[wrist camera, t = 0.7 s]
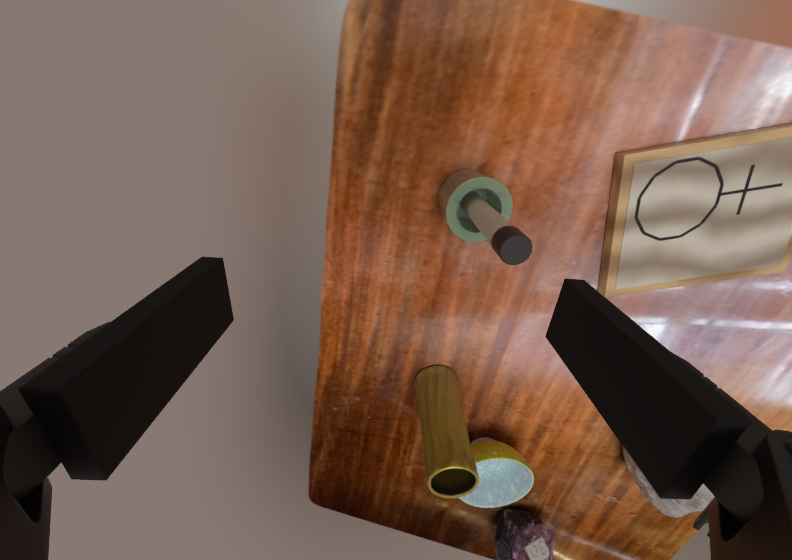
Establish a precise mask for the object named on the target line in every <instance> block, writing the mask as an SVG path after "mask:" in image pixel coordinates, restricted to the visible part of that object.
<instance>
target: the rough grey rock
mask: <svg viewBox="0 0 792 560" xmlns="http://www.w3.org/2000/svg"><path fill="white" fill-rule="evenodd" d="M623 456H624V457H625V462H626V466H627V469H628V471H629V472H630V473H632V475H633V476H634V478H635V481H636V483H637V485H638V486H639V487H640V490H641V492H642V494H643V495H644V497H645V498H646V499H647V500H649V501H650V502H651V503H652V504H653V505H654V506H656V507H657V508H658V509H659V510H660V511H661V512H662V513H663V514H664V515H667V516H670V517H676V518H677V517H681V516H683V515H686V514H689V513H692V512H695V511H701V510H704V509H705V508H706V507H707V505H708V504H709V503H710V502H711V501H712V499H713V498H714V497H715V496H714V495H713V494H712V493H711V492H710V491H709V489H708V488H707V487H706V486H705V485H704V484H702V486H701V487H700V488H699V489H698V491H697V492H696V493H695V495H694V496H693V497H692V498H691V500H687V499H660V497H659V496H658V494H657V493H656V492H655V490H654V489H653V487H652V486H651V485H650V483H649V482H648V480H647V479H646V477H645V476H644V475H643V473H642V472H641V470H640V469H639V468H638V466H637V465H636V463H635V462H634V461H633V459H632V458H631V456H630V455H629V454H628V452H627V451H626V449H625V448H624V446H623Z"/></svg>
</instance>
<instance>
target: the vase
mask: <svg viewBox="0 0 792 560" xmlns="http://www.w3.org/2000/svg"><path fill="white" fill-rule="evenodd" d="M414 385H415V389H416V394H417V401H418V408H419V415H420V421H421V428H422V435H423V443H424V455H425V464H426V470H427V483H428V487H429V489H430V490H431V492H432V493H434V494H435V495H437V496H439V497H444V498H458V497H462V496H465V495H467V494H469V493H471V492H473V491H474V490H475V489H476V487H477V485H478V483H479V478H478V472H477V468H476V464H475V460H474V456H473V453H472V449H471V445H470V441H469V437H468V431H467V426H466V422H465V417H464V412H463V406H462V400H461V395H460V390H459V385H458V378H457V376H456V374H455V372H454V371H453V370H451V369H450V368H448V367H445V366H431V367H428V368H425V369H423V370H422V371H421V372H419V373H418V375H417V376H416V378H415V382H414Z"/></svg>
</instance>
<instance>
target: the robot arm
mask: <svg viewBox="0 0 792 560" xmlns="http://www.w3.org/2000/svg"><path fill="white" fill-rule="evenodd" d="M233 320H234V319H233V313H232V307H231V302H230V296H229V290H228V285H227V279H226V274H225V268H224V263H223V258H213V257H201V258H200V259H198V260H197V261H195V262H194V263H193V264H191V265H190V266H188V267H187V268H186V269H184V270H183V271H181V272H180V273H179V274H177V275H176V276H175V277H173V278H172V279H170V280H169V281H167V282H166V283H165V284H163V285H162V286H161V287H159V288H158V289H156V290H155V291H153V292H152V293H151V294H149V295H148V296H146V297H145V298H144V299H143V300H141V301H139V302H138V303H137V304H135V305H134V306H133V307H131V308H130V309H129V310H127V311H126V312H124V313H123V314H121V315H120V316H119V317H117V318H116V319H115V320H113V321H112V322H108V323H105V324H103V325H101V326H99V327H96V328H94V329H92V330H90V331H87V332H85V333H84V334H83V335H81V336H80V337H78V338H77V339H75V340H74V341H73V342H71V343H70V344H68V347H64V348H62V349H61V350H59V351H58V352H57V353H55V354H54V355H53V357H52V358H48V359H46V360H45V361H44V362H42V363H41V364H39V365H38V366H36V367H35V368H33V369H32V370H30V371H29V372H28V373H26V374H25V375H23V376H22V377H20V378H19V379H17V380H16V381H15V382H13V383H12V384H10V385H9V386H7V387H6V388H4V389H3V390H1V391H0V560H48V552H49V535H50V516H51V499H52V486H51V483H50V481H49V479H48V478H47V476H49V475H50V473H51V472H52V471H53V470H54V469H55V468H56V467H57V466H58V465H59V464H60V463H61V462H62V464H63V465H64V467H65V469H66V471H67V472H68V474H69V476H70V477H71V479H80V480H107V479H108V478H109V476H110V475H111V474H112V473H113V471H114V470H115V469H116V467H117V466H118V465H119V463H120V462H121V461H122V460H123V459H124V457H125V456H126V455H127V454H128V452H129V451H130V450H131V449H132V447H133V446H134V445H135V444H136V442H137V441H138V440H139V439H140V437H141V436H142V435H143V434H144V432H145V431H146V430H147V428H148V427H149V426H150V425H151V423H152V422H153V421H154V420H155V418H156V417H157V416H158V415H159V413H160V412H161V411H162V410H163V408H164V407H165V406H166V405H167V403H168V402H169V401H170V400H171V398H172V397H173V396H174V394H175V393H176V392H177V391H178V389H179V388H180V387H181V386H182V384H183V383H184V382H185V381H186V379H187V378H188V377H189V376H190V374H191V373H192V372H193V371H194V369H195V368H196V367H197V365H198V364H199V363H200V362H201V361H202V359H203V358H204V357H205V355H206V354H207V353H208V352H209V350H210V349H211V348H212V347H213V345H214V344H215V343H216V342H217V340H218V339H219V338H220V337H221V335H222V334H223V333H224V332H225V330H226V329H227V328H228V326H229V325H230V324H231V323H232V322H233ZM546 338H547V339H548V341H549V342H550V344H551V345H552V346H553V348H554V349H555V351H556V352H557V353H558V355H559V356H560V358H561V359H562V360H563V362H564V363H565V365H566V366H567V368H568V369H569V370H570V372H571V373H572V375H573V376H574V377H575V379H576V380H577V382H578V383H579V384H580V386H581V387H582V389H583V390H584V391H585V393H586V394H587V396H588V397H589V399H590V400H591V401H592V403H593V404H594V406H595V407H596V408H597V410H598V411H599V413H600V414H601V415H602V417H603V418H604V420H605V421H606V423H607V424H608V425H609V427H610V428H611V430H612V431H613V432H614V434H615V435H616V437H617V438H618V439H619V441H620V442H621V444H622V445H623V446H624V448H625V449H626V451H627V452H628V454H629V455H630V456H631V458H632V459H633V461H634V462H635V463H636V465H637V466H638V468H639V469H640V470H641V472H642V473H643V475H644V476H645V477H646V479H647V480H648V482H649V483H650V485H651V486H652V487H653V489H654V490H655V492H656V493H657V494H658V496H659V497H660V499H687V500H691V498H692V497H693V496H694V495H695V493H696V492H697V491H698V489H699V488H700V487H701V486H702V484H704V485H705V486H706V487H707V488H708V489H709V491H710V492H711V493H712V494H713V495H714V496H715V497H714V498H713V499H712V501H711V502H710V503H709V504H708V505H707V507H706V508H705V509H704V510H703V511H702V513H701V514H700V515H699V516H698V517H697V519H696V520H695V522H694V525H693V527H694V528H695V529H697V530H699V529H700V528H701V527H702V526H703V525H704V524H705V523H709V533H708V534H707V536H709V537H710V550H711V560H792V432H789V431H783V430H773V431H772V430H771V429H770V428H768V427H767V426H766V425H765V424H763V423H762V422H761V421H760V420H759V419H757V418H756V417H755V416H754V415H752V414H751V413H750V412H749V411H748V410H746V409H745V408H744V407H743V406H741V405H740V404H739V403H738V402H736V401H735V400H734V399H733V398H732V397H730V396H729V395H728V394H727V393H725V392H724V391H723V390H722V389H720V388H717V385H716V384H714V383H713V382H712V381H711V380H710V379H708V378H707V377H704V376H703V374H702V373H701V372H700V371H699V370H697V369H696V368H695V367H694V366H692V365H691V364H690V363H689V362H687V361H686V360H684V359H682V358H680V357H679V356H677V355H675V354H673V353H672V352H670V351H669V350H667V349H666V348H665V347H664V346H663V345H661V344H660V343H659V342H658V341H657V340H655V339H654V338H653V337H652V336H651V335H649V334H648V333H647V332H646V331H645V330H643V329H642V328H641V327H640V326H639V325H637V324H636V323H635V322H634V321H633V320H631V319H630V318H629V317H628V316H627V315H625V314H624V313H623V312H622V311H621V310H619V309H618V308H617V307H616V306H615V305H613V304H612V303H611V302H610V301H609V300H607V299H606V298H605V297H604V296H603V295H601V294H600V293H599V292H598V291H597V290H595V289H594V288H593V287H592V286H591V285H589V284H588V283H587V282H586V281H585V280H576V279H565V280H564V283H563V286H562V289H561V292H560V295H559V298H558V301H557V304H556V307H555V310H554V313H553V316H552V319H551V322H550V325H549V328H548V331H547V334H546Z"/></svg>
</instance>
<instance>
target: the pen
mask: <svg viewBox="0 0 792 560" xmlns="http://www.w3.org/2000/svg"><path fill="white" fill-rule="evenodd" d="M459 204H460V206H461V207H462V209H463V210H464V211H465V212H466V214H467V215H468V216H469V218H470V219H471V220H472V221H473V223H474V224H475V225H476V226H477V228H478V229H479V230H480V232H481V233H482V234H483V235H484V237H485V238H486V239H487V240H488V242H489V243H490V244H491V246H492V247H493V249H494V251H495V252H496V253H497V254H498V256H499V257H500V258H501V260H502V261H503V262H505V263H506V264H509V265H517V264H520V263H522V262H524V261H525V260H527V259H528V257H529V256H530V254H531V252H532V243H531V240H530V239H529V238H528V237H527V236H526V235H525V234H523V233H522V232H521V231H520V230H519V229H518V228H516V227H514V226H513V225H512V224H511V223H510V222H509V221H507V220H506V219H505V218H504V217H503V216H502V215H501V214H499V213H498V212H497V211H496V210H495V209H494V208H493V207H492V206H490V205H489V204H488V203H487V202H486V201H485V200H484V199H482V198H481V197H480V196H479V195H478V194H477V193H476V192H474V191H470V192H469V193H467V194H465V196H464V197H463V198H462V200H461V201H460V202H459Z"/></svg>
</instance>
